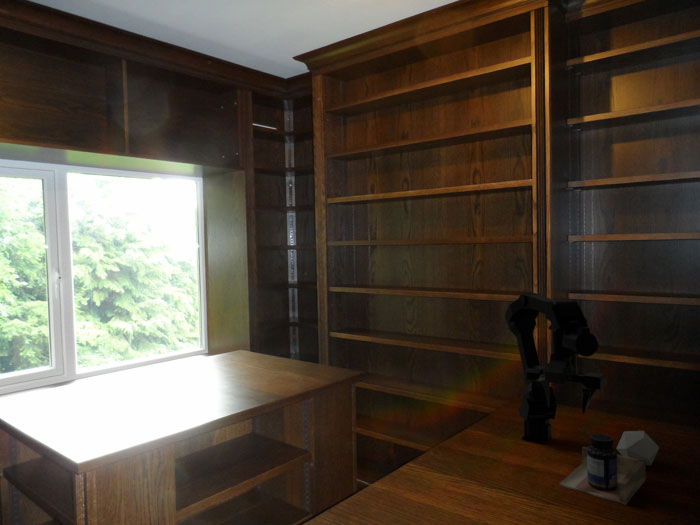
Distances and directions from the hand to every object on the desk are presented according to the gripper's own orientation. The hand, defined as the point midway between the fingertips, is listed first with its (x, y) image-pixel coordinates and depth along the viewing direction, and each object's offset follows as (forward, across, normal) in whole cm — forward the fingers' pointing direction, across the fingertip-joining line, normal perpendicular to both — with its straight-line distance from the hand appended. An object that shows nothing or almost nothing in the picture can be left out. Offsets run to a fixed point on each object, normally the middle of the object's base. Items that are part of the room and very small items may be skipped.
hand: (565, 410), depth 131 cm
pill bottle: (+13, +12, -10) cm, 20 cm away
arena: (+13, +11, -7) cm, 18 cm away
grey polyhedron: (+13, +14, +10) cm, 22 cm away
